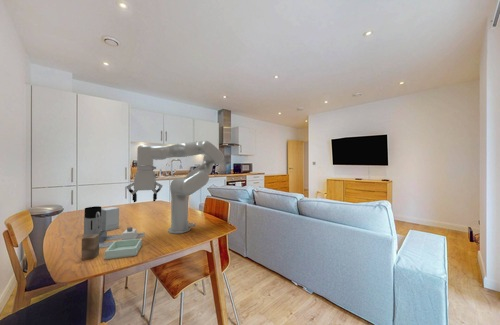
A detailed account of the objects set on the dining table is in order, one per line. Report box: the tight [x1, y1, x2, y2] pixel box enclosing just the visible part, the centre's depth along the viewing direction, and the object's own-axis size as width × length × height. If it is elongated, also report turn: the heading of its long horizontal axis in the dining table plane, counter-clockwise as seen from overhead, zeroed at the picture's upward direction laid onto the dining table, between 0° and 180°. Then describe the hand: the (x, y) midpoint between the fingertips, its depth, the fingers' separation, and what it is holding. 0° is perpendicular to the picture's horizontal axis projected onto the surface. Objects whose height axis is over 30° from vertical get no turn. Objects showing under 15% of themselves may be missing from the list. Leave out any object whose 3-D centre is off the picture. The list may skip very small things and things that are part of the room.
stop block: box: [80, 234, 100, 261], centre depth 84 cm, size 4×4×9 cm
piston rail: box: [99, 230, 146, 249], centre depth 100 cm, size 20×11×5 cm, turn 108°
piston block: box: [121, 226, 138, 240], centre depth 101 cm, size 5×6×7 cm
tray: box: [104, 237, 143, 260], centre depth 89 cm, size 12×12×4 cm
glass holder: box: [82, 205, 102, 238], centre depth 109 cm, size 9×14×15 cm, turn 55°
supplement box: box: [101, 206, 120, 232], centre depth 120 cm, size 7×7×13 cm
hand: (144, 201), depth 104 cm, fingers open, 8 cm apart
